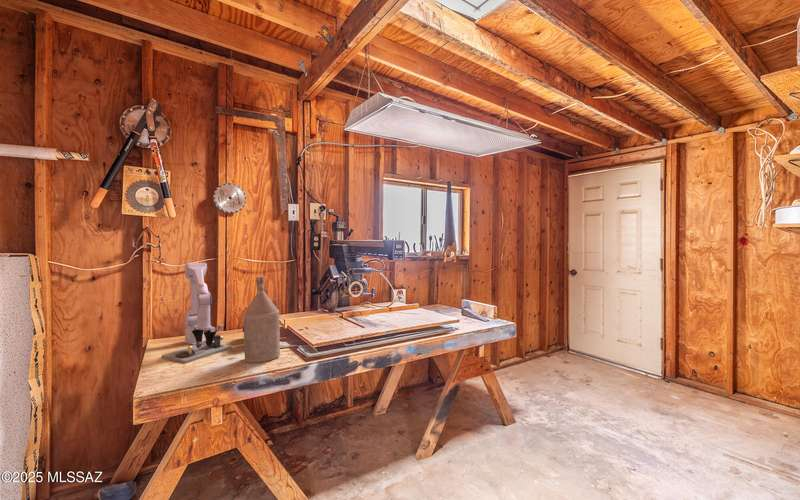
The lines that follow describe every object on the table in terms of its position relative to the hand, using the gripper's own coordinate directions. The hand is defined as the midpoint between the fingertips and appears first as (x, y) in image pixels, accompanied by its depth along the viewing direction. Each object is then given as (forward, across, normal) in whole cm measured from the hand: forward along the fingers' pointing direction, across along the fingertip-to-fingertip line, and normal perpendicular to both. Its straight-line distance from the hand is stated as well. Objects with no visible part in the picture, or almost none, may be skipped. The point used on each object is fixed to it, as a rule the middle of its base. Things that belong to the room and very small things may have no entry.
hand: (204, 344), depth 169 cm
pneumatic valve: (+4, +3, +24) cm, 25 cm away
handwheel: (+2, 0, -10) cm, 10 cm away
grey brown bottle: (+4, +34, +6) cm, 35 cm away
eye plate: (+2, 0, +5) cm, 6 cm away
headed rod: (+1, 0, +4) cm, 4 cm away
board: (+4, -1, -2) cm, 5 cm away
